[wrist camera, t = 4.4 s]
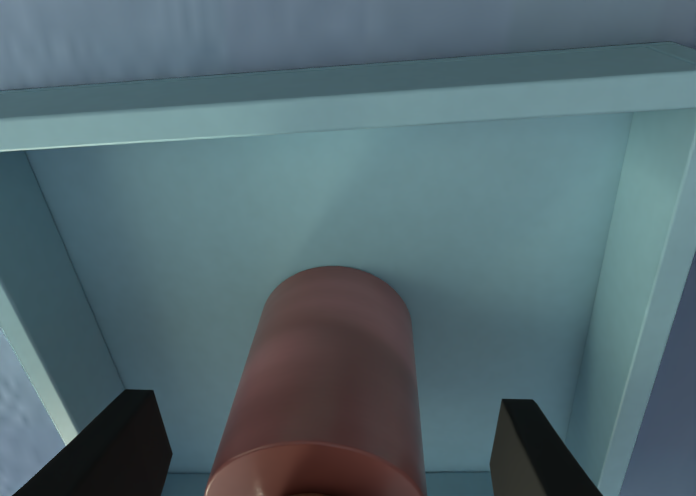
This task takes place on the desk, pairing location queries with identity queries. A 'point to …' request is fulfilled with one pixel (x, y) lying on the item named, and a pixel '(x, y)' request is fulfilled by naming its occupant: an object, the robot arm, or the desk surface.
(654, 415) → the desk surface
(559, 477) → the robot arm
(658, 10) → the desk surface
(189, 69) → the desk surface
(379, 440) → the peg doll
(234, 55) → the desk surface
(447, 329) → the baking pan
